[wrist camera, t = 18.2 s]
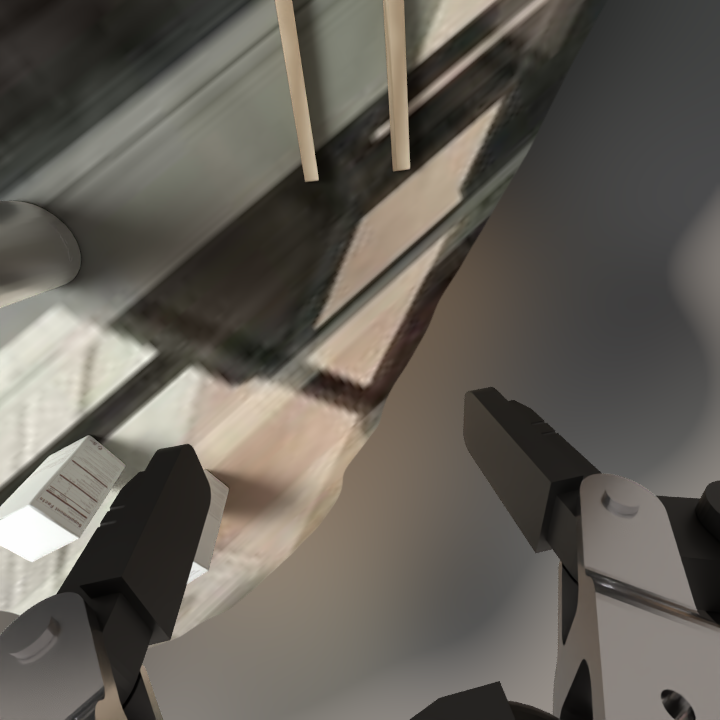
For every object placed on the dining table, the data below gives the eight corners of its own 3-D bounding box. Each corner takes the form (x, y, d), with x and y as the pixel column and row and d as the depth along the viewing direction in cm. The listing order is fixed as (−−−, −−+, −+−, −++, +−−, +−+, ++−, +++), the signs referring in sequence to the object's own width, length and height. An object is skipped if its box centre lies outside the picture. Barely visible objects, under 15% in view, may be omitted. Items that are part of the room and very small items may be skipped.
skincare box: (194, 509, 57) (162, 603, 44) (166, 491, 54) (123, 584, 41) (232, 486, 56) (210, 574, 43) (206, 466, 53) (174, 553, 40)
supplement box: (88, 485, 52) (29, 564, 40) (48, 454, 48) (-29, 532, 37) (128, 465, 51) (80, 540, 40) (90, 433, 48) (26, 504, 36)
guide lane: (305, 182, 38) (305, 180, 35) (240, -206, 26) (230, -271, 22) (405, 169, 39) (415, 167, 36) (388, -208, 27) (402, -270, 23)
